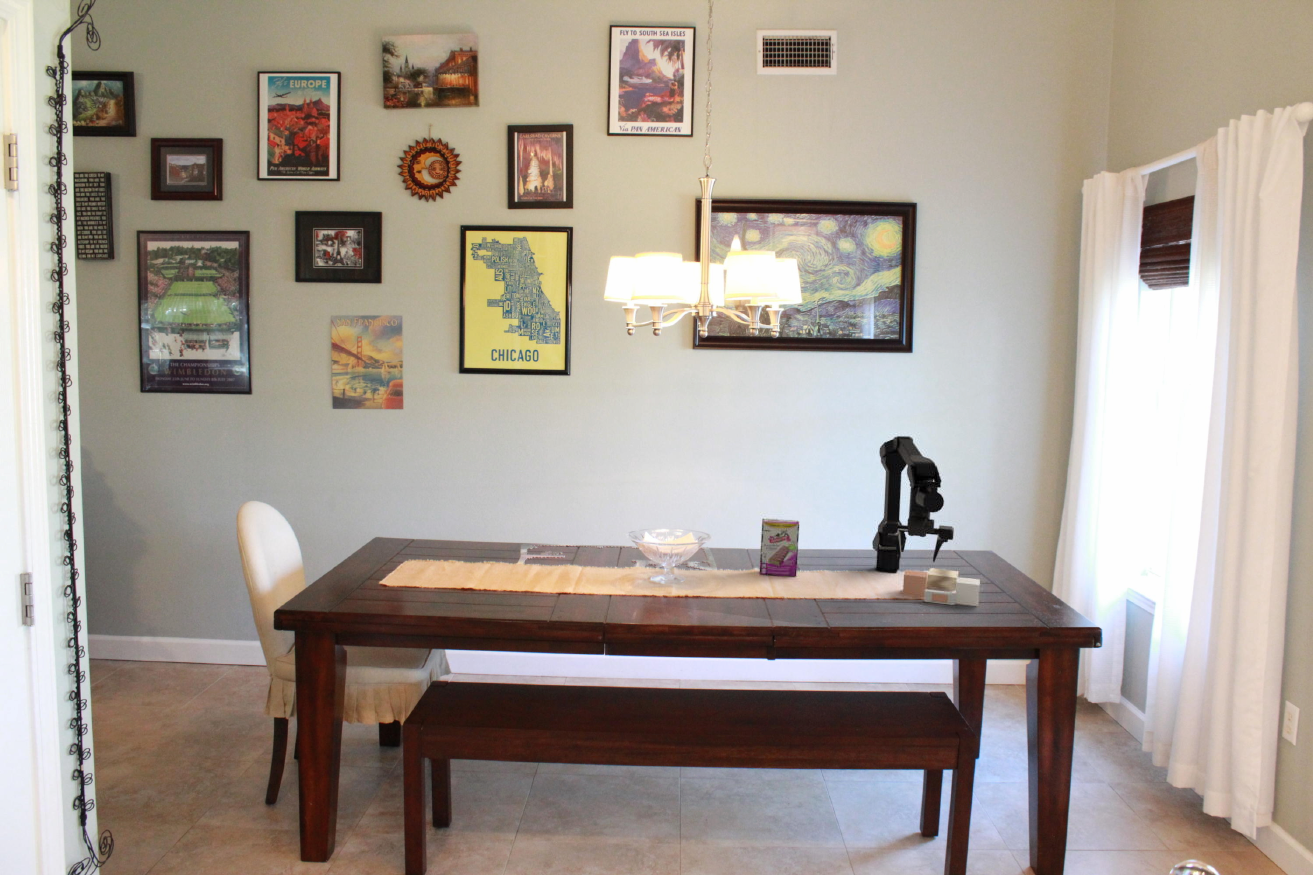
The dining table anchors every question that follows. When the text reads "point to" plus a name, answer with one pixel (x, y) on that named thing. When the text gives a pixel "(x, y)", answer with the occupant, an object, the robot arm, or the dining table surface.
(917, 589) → the terracotta cube
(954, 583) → the base block
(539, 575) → the dining table surface
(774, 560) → the candy bar box
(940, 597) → the plinth
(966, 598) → the offwhite cube
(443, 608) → the dining table surface
